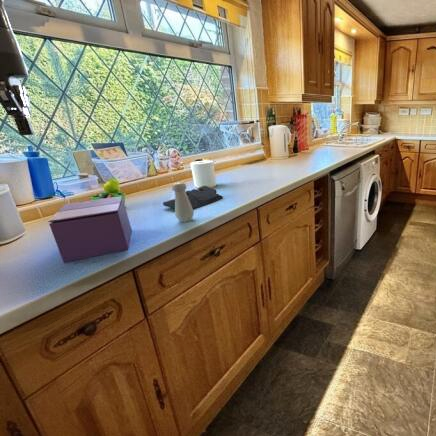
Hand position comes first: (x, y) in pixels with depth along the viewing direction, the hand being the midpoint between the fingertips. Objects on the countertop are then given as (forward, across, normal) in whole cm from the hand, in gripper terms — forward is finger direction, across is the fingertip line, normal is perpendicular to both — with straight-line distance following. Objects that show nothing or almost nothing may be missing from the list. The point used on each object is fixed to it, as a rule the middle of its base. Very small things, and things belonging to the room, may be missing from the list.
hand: (27, 134), depth 71 cm
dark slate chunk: (+31, -32, +35) cm, 57 cm away
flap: (+20, +3, +7) cm, 21 cm away
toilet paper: (+31, -61, +44) cm, 81 cm away
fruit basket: (+31, -46, +6) cm, 56 cm away
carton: (+31, -2, +7) cm, 32 cm away
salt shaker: (+31, -10, +30) cm, 44 cm away
